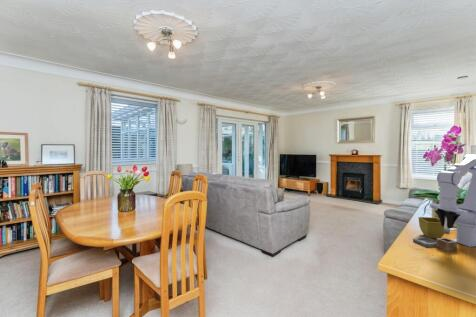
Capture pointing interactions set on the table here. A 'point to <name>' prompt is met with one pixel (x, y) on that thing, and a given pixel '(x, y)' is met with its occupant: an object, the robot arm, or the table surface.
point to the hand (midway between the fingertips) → (446, 227)
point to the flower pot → (431, 227)
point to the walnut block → (446, 244)
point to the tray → (425, 241)
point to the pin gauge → (446, 230)
